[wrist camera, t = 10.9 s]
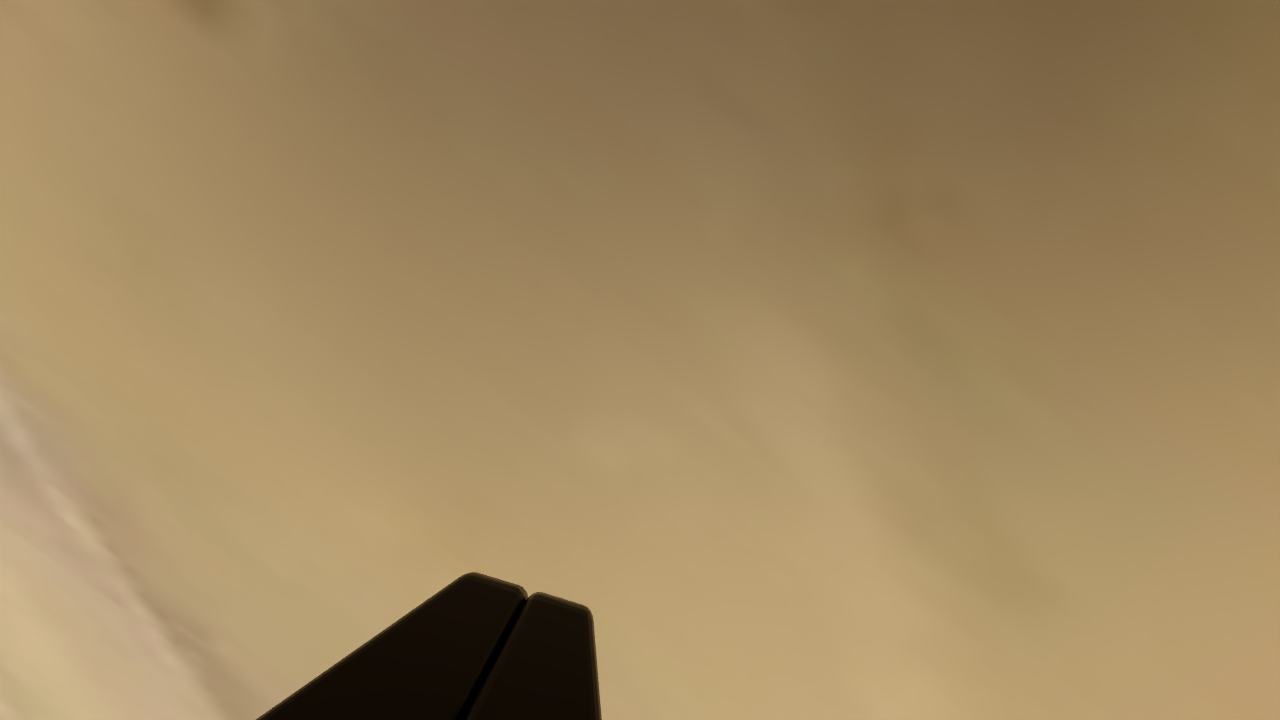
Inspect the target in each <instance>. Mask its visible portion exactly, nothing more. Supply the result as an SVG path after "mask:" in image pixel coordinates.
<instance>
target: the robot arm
mask: <svg viewBox="0 0 1280 720" xmlns="http://www.w3.org/2000/svg"><path fill="white" fill-rule="evenodd" d="M256 720H602V719H601V706H600V694H599V682H598V670H597V658H596V646H595V634H594V622H593V616H592V613H591V611H590V610H589V608H588V607H586V606H584V605H581V604H578V603H575V602H572V601H568V600H565V599H562V598H559V597H555V596H552V595H549V594H546V593H542V592H537V593H533V594H532V595H531V596H530V597H529V598H528V594H527V592H526V591H525V590H524V588H523V587H521V586H519V585H516V584H513V583H510V582H506V581H503V580H500V579H497V578H493V577H490V576H487V575H484V574H480V573H476V572H472V573H467V574H465V575H462V576H461V577H459V578H458V579H456V580H455V581H453V582H452V583H451V584H449V585H448V586H446V587H445V588H443V589H442V590H441V591H439V592H438V593H436V594H435V595H433V596H432V597H431V598H429V599H428V600H426V601H425V602H423V603H422V604H421V605H419V606H418V607H416V608H415V609H413V610H412V611H411V612H409V613H408V614H406V615H405V616H403V617H402V618H401V619H399V620H398V621H396V622H395V623H393V624H392V625H391V626H389V627H388V628H386V629H385V630H383V631H382V632H381V633H379V634H378V635H376V636H375V637H373V638H372V639H371V640H369V641H368V642H366V643H365V644H363V645H362V646H361V647H359V648H358V649H356V650H355V651H353V652H352V653H351V654H349V655H348V656H346V657H345V658H343V659H342V660H341V661H339V662H338V663H336V664H335V665H333V666H332V667H331V668H329V669H328V670H326V671H325V672H323V673H322V674H321V675H319V676H318V677H316V678H315V679H313V680H312V681H311V682H309V683H308V684H306V685H305V686H303V687H302V688H301V689H299V690H298V691H296V692H295V693H293V694H292V695H291V696H289V697H288V698H286V699H285V700H283V701H282V702H281V703H279V704H278V705H276V706H275V707H273V708H272V709H271V710H269V711H268V712H266V713H265V714H263V715H262V716H261V717H259V718H258V719H256Z"/></svg>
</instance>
